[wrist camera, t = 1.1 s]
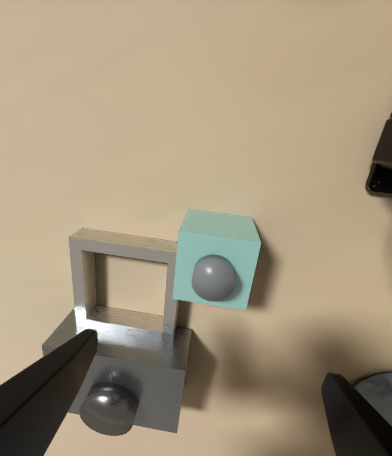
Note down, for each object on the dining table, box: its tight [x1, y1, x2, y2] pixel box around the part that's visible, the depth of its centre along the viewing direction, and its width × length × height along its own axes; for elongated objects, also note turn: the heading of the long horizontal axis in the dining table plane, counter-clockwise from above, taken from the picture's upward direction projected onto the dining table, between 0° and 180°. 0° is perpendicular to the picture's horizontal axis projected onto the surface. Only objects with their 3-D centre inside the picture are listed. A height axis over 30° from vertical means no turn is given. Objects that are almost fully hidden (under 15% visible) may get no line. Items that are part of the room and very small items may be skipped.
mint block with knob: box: [173, 209, 261, 310], centre depth 17 cm, size 5×5×6 cm
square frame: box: [42, 228, 192, 436], centre depth 21 cm, size 12×17×6 cm
